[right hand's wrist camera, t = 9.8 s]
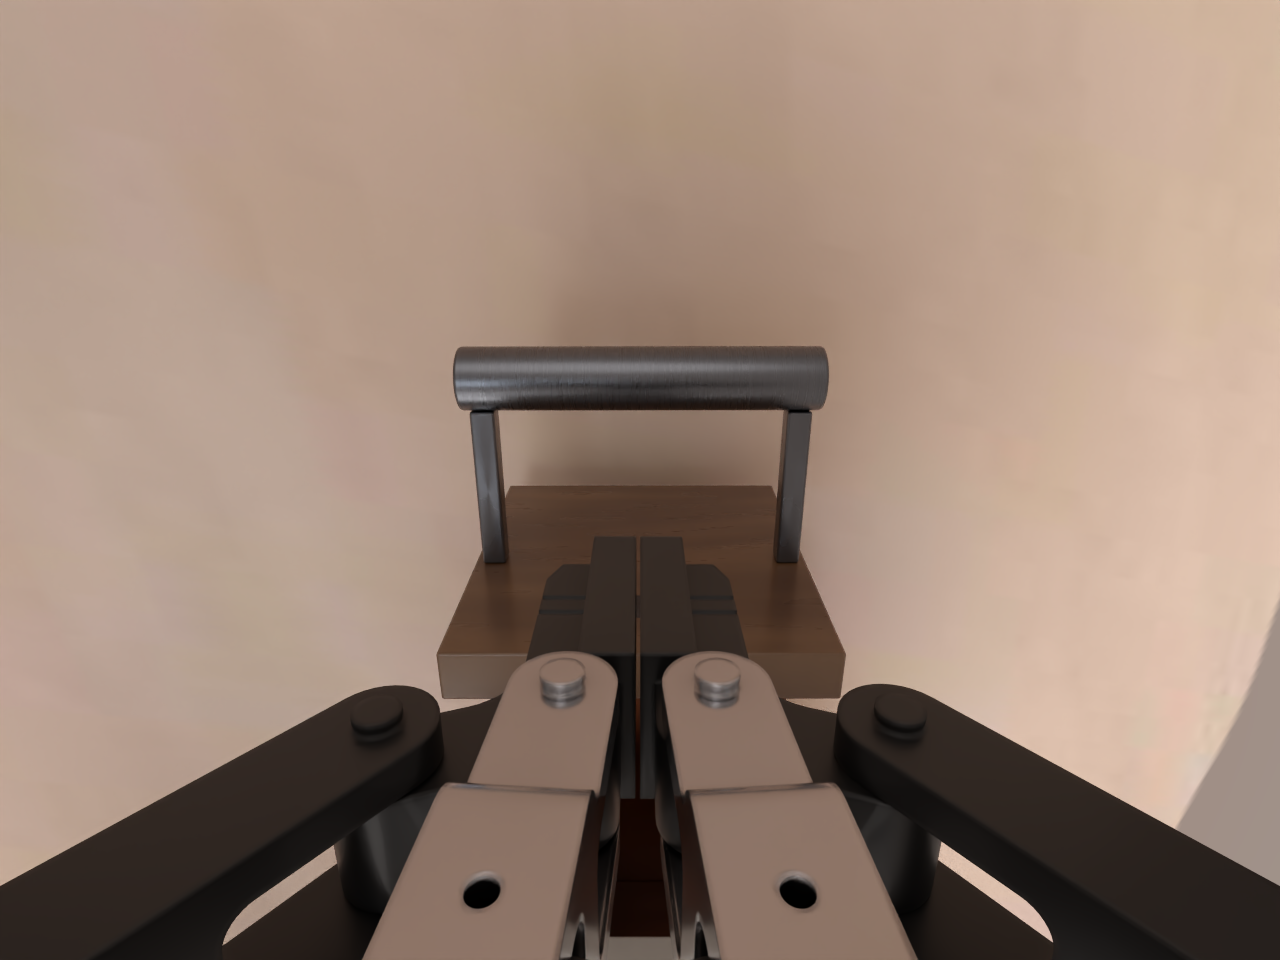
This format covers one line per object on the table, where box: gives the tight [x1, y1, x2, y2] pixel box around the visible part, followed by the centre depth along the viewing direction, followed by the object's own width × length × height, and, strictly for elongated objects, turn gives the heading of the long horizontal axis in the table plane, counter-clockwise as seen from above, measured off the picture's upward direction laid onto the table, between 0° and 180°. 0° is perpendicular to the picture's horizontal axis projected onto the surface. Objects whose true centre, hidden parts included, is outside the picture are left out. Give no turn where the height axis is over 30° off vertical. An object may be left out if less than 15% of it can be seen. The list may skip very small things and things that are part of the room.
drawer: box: [437, 346, 846, 937], centre depth 22 cm, size 23×9×9 cm, turn 0°
